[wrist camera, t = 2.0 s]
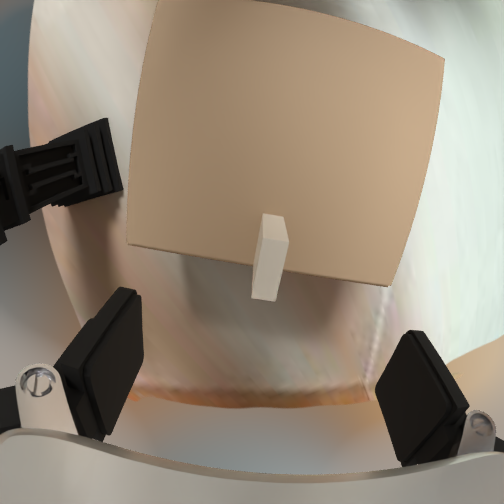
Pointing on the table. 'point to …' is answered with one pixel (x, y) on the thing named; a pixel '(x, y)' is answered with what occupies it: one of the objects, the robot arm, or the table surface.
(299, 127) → the lid flap
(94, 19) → the table surface
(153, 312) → the table surface
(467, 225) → the table surface
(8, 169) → the chess piece
